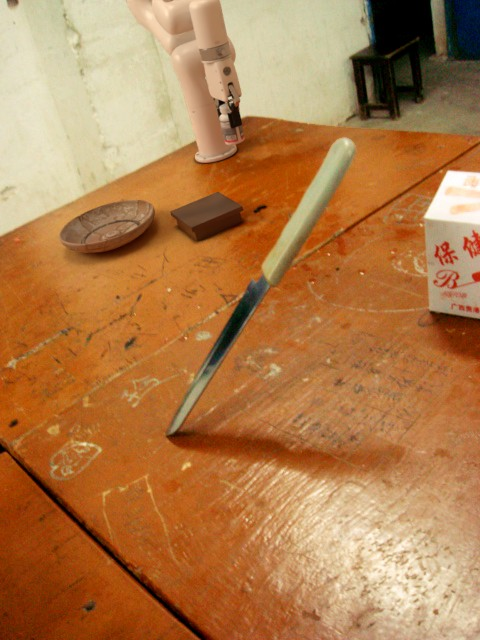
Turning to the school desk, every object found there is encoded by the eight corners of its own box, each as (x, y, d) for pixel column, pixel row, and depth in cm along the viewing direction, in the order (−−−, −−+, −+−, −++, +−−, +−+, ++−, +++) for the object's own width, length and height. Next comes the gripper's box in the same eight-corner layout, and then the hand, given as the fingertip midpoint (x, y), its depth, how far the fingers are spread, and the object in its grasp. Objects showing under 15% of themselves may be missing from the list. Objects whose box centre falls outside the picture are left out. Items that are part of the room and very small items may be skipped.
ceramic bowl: (175, 232, 150) (169, 213, 147) (83, 274, 142) (75, 255, 139) (138, 207, 168) (132, 190, 165) (54, 244, 160) (46, 226, 157)
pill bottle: (236, 136, 173) (228, 100, 167) (249, 139, 169) (241, 102, 163) (221, 144, 170) (212, 107, 165) (233, 147, 167) (225, 110, 161)
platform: (174, 226, 153) (169, 211, 150) (221, 206, 156) (218, 191, 154) (195, 243, 142) (191, 227, 140) (246, 221, 146) (242, 205, 144)
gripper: (244, 51, 151) (259, 125, 161) (213, 44, 164) (229, 113, 175) (216, 61, 149) (233, 136, 159) (187, 53, 162) (204, 123, 173)
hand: (231, 123), depth 167 cm, fingers closed on pill bottle, 5 cm apart
